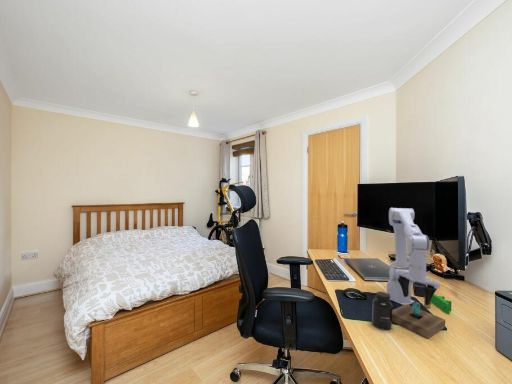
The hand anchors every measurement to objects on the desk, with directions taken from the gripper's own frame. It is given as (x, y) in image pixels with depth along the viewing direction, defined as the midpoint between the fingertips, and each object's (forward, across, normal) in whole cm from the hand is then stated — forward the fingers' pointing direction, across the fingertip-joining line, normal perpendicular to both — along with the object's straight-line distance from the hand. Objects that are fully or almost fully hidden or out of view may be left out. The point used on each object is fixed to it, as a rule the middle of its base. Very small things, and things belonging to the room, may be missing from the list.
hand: (416, 300), depth 92 cm
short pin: (+9, -4, +19) cm, 21 cm away
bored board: (+9, 0, 0) cm, 9 cm away
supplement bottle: (+9, -6, -13) cm, 17 cm away
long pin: (+9, 0, 0) cm, 9 cm away
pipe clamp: (+10, 0, +24) cm, 26 cm away
